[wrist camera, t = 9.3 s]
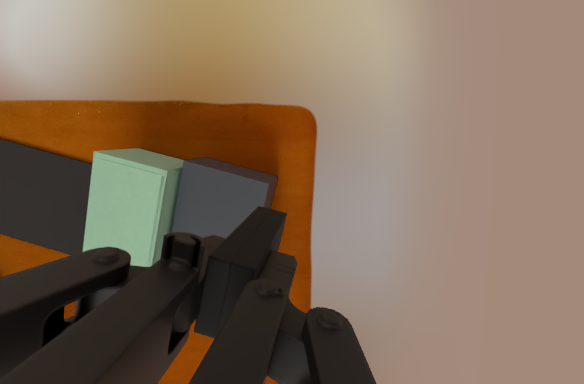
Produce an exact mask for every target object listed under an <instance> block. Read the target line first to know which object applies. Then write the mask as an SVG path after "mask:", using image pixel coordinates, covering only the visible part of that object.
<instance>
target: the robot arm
mask: <svg viewBox="0 0 584 384" xmlns="http://www.w3.org/2000/svg"><path fill="white" fill-rule="evenodd" d="M286 216H287V213H283V212H279V211H276V210H272V209H268V208H265V207H261V206H258V207H257V208H256V209H255V210H254V211H253V212H252V213H251V214H250V215H249V216H248V217H247V218H246V219H245V220H244V221H243V222H242V223H241V224H240V225H239V226H238V227H237V228H236V229H235V230H234V231H233V232H232V233H231V234H230V235H229V236H228V237H227V238H223V237H219V236H216V235H211V236H207V237H204V238H201V237H200V236H197V235H195V234H191V233H186V232H174V233H168V234H166V235H164V239H163V246H162V252H161V258H160V260H159V261H157V262H156V263H155V264H153V265H152V266H150V267H143V266H133V265H130V263H131V256H130V254H129V253H128V252H126V251H125V250H122V249H119V248H115V247H102V248H95V249H91V250H87V251H84V252H81V253H78V254H75V255H71V256H68V257H65V258H62V259H58V260H55V261H52V262H49V263H46V264H42V265H39V266H36V267H33V268H30V269H26V270H23V271H20V272H17V273H14V274H10V275H7V276H4V277H1V278H0V384H157V383H158V382H159V380H160V379H161V377H162V376H163V375H164V373H165V372H166V370H167V369H168V367H169V366H170V364H171V363H172V362H173V360H174V359H175V357H176V356H177V354H178V353H179V352H180V350H181V349H182V347H183V346H184V344H185V343H186V341H187V338H188V335H189V330H190V326H191V324H192V323H193V322H194V320H195V319H196V323H195V328H194V332H196V333H199V334H202V335H206V336H209V337H212V338H215V339H214V341H213V343H212V344H211V346H210V348H209V350H208V351H207V353H206V355H205V356H204V358H203V360H202V362H201V363H200V365H199V367H198V369H197V370H196V372H195V374H194V375H193V377H192V379H191V381H190V382H189V384H265V381H266V377H267V376H269V377H270V378H272V379H273V380H275V381H276V382H278V383H280V384H376V382H375V379H374V377H373V375H372V372H371V370H370V368H369V365H368V363H367V361H366V358H365V356H364V353H363V351H362V349H361V346H360V344H359V342H358V339H357V337H356V335H355V333H354V330H353V328H352V325H351V324H350V322H349V321H348V319H346V318H345V317H344V316H343V315H342V314H340V313H339V312H336V311H335V310H332V309H328V308H320V307H316V308H313V309H310V310H309V311H308V312H307V314H306V313H304V312H302V311H300V310H299V309H297V308H296V307H295V306H294V305H293V304H292V303H291V302H290V300H289V293H290V289H291V286H292V282H293V278H294V274H295V270H296V267H297V261H296V259H295V258H294V256H290V255H287V254H283V253H280V252H278V248H279V244H280V240H281V236H282V232H283V228H284V224H285V220H286ZM74 301H76V305H75V315H74V316H72V317H70V318H67V319H64V306H65V305H67V304H70V303H72V302H74Z"/></svg>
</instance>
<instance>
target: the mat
mask: <svg viewBox="0 0 584 384" xmlns="http://www.w3.org/2000/svg"><path fill="white" fill-rule="evenodd" d="M91 173H92V164H90V163H87V162H83V161H79V160H76V159H72V158H68V157H65V156H61V155H58V154H54V153H50V152H47V151H43V150H40V149H36V148H32V147H29V146H25V145H22V144H18V143H14V142H11V141H7V140H4V139H0V234H3V235H7V236H10V237H13V238H17V239H20V240H23V241H26V242H30V243H33V244H36V245H40V246H43V247H46V248H50V249H53V250H56V251H60V252H63V253H66V254H70V255H75V254H78V253H81V252H83V243H84V234H85V226H86V217H87V208H88V199H89V190H90V181H91Z"/></svg>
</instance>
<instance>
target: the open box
mask: <svg viewBox="0 0 584 384" xmlns="http://www.w3.org/2000/svg"><path fill="white" fill-rule="evenodd" d="M93 156H94V157H93V164H92V173H91V181H90V190H89V199H88V208H87V217H86V226H85V234H84V243H83V252H84V251H87V250H91V249H95V248H102V247H115V248H119V249H122V250H125V251H126V252H128V253H129V254H130V256H131V263H130V265H133V266H143V267H150V266H152V265H153V264H155V263H156V262H157V261H159V260H160V258H161V252H162V246H163V239H164V235H166V234H168V233H171V230H172V224H173V219H174V213H175V208H176V202H177V196H178V191H179V185H180V180H181V174H182V168H183V163H184V161H185V160H181V159H178V158H174V157H170V156H166V155H162V154H159V153H155V152H151V151H147V150H143V149H140V148H132V149H118V150H104V151H94V155H93Z"/></svg>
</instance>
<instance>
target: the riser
mask: <svg viewBox="0 0 584 384" xmlns="http://www.w3.org/2000/svg"><path fill="white" fill-rule="evenodd" d="M277 180H278V176H274V175H270V174H267V173H263V172H259V171H255V170H252V169H248V168H244V167H240V166H237V165H233V164H229V163H225V162H222V161H218V160H214V159H211V158H207V157H202V158H196V159H191V160H185V161H184V163H183V168H182V174H181V180H180V185H179V191H178V196H177V202H176V208H175V213H174V219H173V224H172V230H171V233H174V232H186V233H191V234H195V235H197V236H200V237H201V238H204V237H207V236H211V235H216V236H219V237H223V238H227V237H228V236H229V235H230V234H231V233H232V232H233V231H234V230H235V229H236V228H237V227H238V226H239V225H240V224H241V223H242V222H243V221H244V220H245V219H246V218H247V217H248V216H249V215H250V214H251V213H252V212H253V211H254V210H255V209H256V208H257V207H258V206H261V207H265V208H268V209H271V205H272V200H273V196H274V192H275V188H276V184H277Z"/></svg>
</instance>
